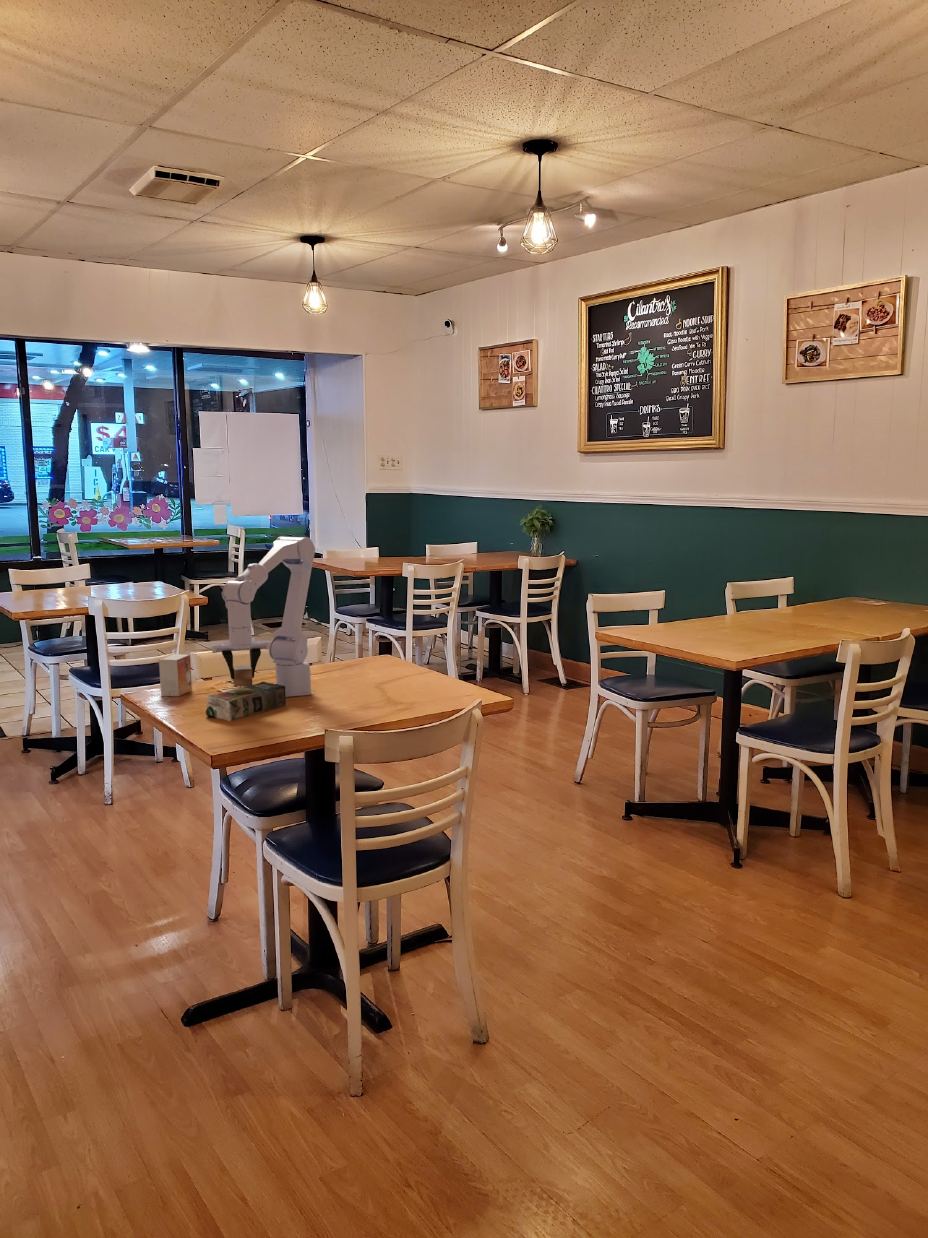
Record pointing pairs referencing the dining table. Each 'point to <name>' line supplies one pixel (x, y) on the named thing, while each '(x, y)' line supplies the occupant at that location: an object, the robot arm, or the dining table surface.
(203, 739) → the dining table surface
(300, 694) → the robot arm
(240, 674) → the greyish beige block
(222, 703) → the juice carton
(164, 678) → the small box
